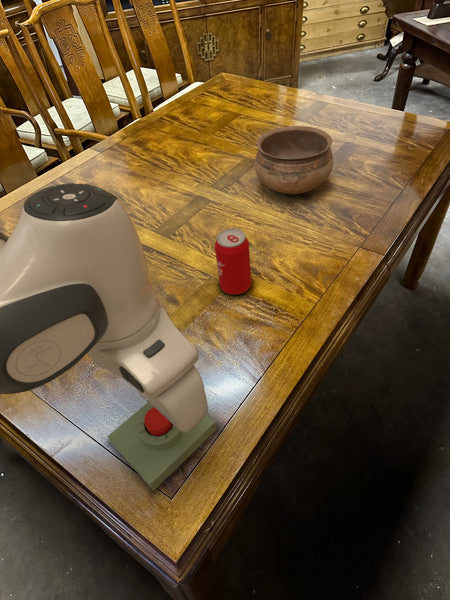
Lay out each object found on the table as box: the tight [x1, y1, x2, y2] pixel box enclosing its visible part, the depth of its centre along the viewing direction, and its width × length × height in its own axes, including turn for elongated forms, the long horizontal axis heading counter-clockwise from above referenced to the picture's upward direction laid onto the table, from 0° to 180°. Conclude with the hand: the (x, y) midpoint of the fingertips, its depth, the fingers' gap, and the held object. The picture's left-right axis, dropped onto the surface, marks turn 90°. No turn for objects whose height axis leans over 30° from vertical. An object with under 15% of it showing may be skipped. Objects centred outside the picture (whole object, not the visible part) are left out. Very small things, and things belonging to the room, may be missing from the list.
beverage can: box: [214, 228, 252, 295], centre depth 78 cm, size 6×6×12 cm
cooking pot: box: [254, 125, 334, 196], centre depth 103 cm, size 25×19×12 cm
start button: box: [144, 407, 172, 436], centre depth 58 cm, size 4×4×2 cm
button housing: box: [107, 402, 218, 492], centre depth 60 cm, size 12×10×4 cm
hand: (151, 397), depth 54 cm, fingers closed
